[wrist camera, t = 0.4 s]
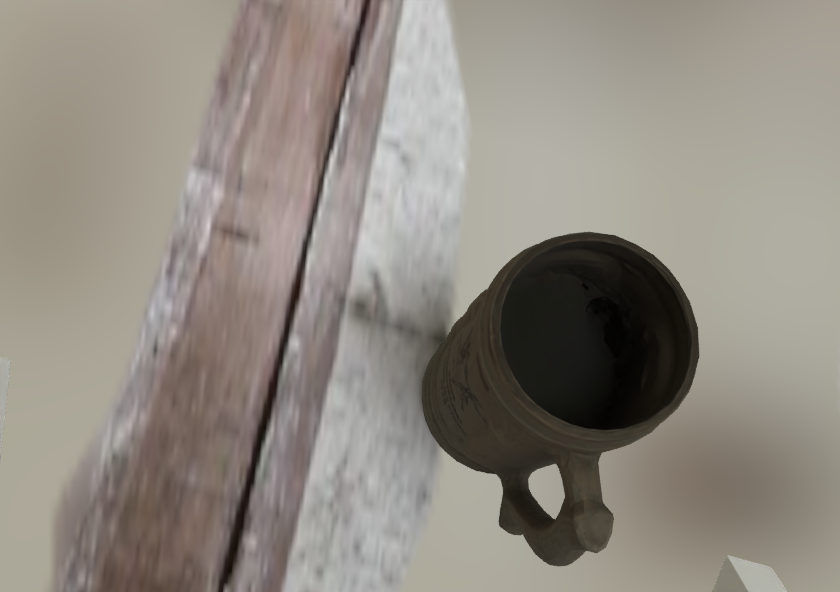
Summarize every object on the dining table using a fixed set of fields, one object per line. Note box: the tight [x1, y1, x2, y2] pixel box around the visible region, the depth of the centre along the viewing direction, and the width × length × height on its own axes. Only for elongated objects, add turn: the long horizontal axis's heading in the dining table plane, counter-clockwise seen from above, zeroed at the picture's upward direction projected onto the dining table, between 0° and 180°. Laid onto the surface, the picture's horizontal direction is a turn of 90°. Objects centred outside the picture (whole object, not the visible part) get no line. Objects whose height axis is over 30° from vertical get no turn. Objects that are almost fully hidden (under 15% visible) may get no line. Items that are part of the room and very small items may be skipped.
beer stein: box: [422, 232, 699, 566], centre depth 38 cm, size 15×11×20 cm
